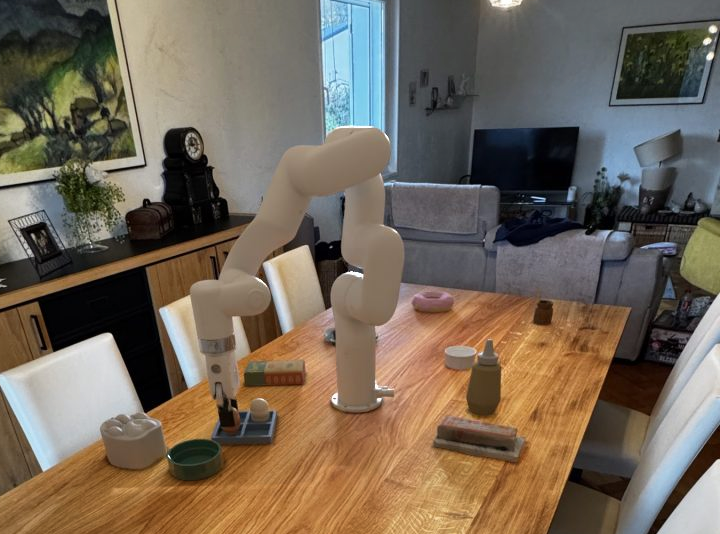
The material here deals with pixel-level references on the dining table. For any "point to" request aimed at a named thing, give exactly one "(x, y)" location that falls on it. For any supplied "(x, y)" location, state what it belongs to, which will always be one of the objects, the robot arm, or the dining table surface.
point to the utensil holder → (543, 311)
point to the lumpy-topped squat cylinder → (133, 440)
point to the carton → (274, 372)
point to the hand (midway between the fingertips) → (229, 420)
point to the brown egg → (237, 423)
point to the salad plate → (333, 336)
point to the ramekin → (460, 357)
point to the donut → (432, 301)
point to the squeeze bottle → (485, 383)
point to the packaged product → (479, 438)
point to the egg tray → (247, 430)
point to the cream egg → (259, 410)
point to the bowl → (195, 459)
